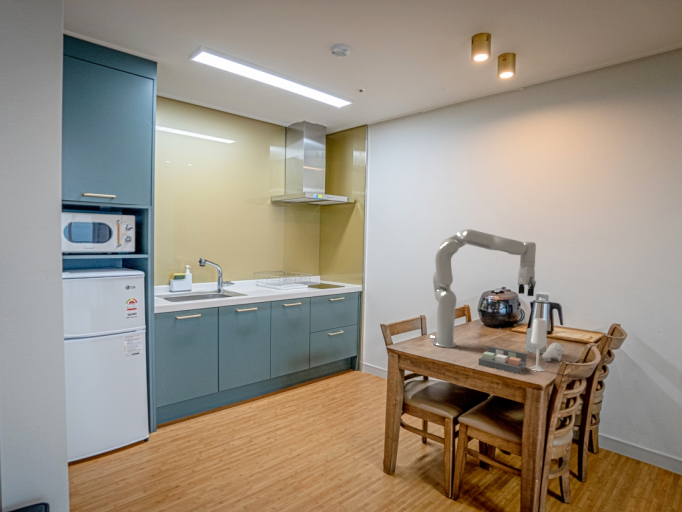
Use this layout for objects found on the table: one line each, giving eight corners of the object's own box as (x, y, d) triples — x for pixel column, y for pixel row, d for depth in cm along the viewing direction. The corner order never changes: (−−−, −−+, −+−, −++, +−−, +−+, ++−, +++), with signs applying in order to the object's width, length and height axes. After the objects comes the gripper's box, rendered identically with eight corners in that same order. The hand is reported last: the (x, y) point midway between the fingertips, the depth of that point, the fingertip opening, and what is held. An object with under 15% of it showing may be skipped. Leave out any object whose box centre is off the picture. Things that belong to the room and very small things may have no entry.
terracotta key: (507, 364, 186) (508, 358, 186) (511, 362, 190) (511, 356, 190) (518, 366, 183) (518, 360, 183) (521, 364, 187) (521, 358, 187)
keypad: (478, 364, 193) (479, 350, 193) (487, 359, 202) (488, 345, 202) (518, 374, 181) (519, 358, 181) (525, 367, 191) (526, 353, 190)
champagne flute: (526, 367, 192) (529, 317, 191) (540, 367, 192) (542, 317, 191) (534, 371, 185) (536, 320, 184) (548, 372, 185) (551, 320, 184)
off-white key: (494, 361, 190) (495, 356, 190) (498, 359, 194) (498, 354, 194) (504, 363, 187) (504, 358, 187) (507, 361, 191) (508, 356, 191)
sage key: (482, 358, 194) (482, 353, 194) (485, 356, 197) (485, 351, 197) (491, 360, 191) (491, 355, 191) (494, 358, 195) (495, 353, 194)
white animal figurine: (564, 343, 204) (549, 348, 198) (564, 360, 205) (550, 365, 199) (553, 340, 210) (538, 345, 204) (553, 356, 210) (538, 361, 205)
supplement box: (537, 354, 214) (538, 331, 214) (525, 350, 221) (526, 328, 220) (546, 353, 218) (547, 330, 217) (534, 349, 224) (535, 327, 224)
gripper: (513, 263, 232) (511, 292, 233) (529, 265, 215) (527, 296, 216) (525, 263, 233) (524, 292, 234) (542, 265, 216) (540, 297, 216)
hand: (525, 294), depth 225 cm, fingers open, 9 cm apart
